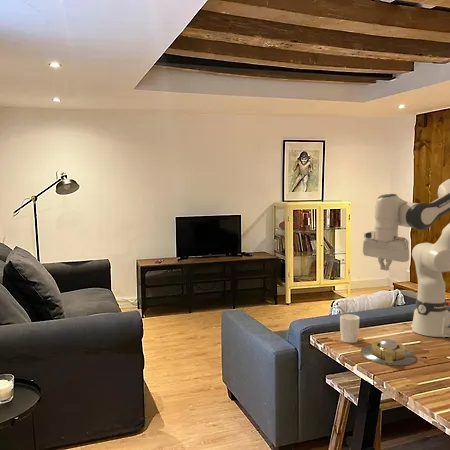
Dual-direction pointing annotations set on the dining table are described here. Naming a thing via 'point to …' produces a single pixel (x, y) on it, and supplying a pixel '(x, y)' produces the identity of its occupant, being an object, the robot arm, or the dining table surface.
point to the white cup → (349, 328)
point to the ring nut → (388, 352)
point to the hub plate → (382, 361)
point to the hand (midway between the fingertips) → (384, 270)
